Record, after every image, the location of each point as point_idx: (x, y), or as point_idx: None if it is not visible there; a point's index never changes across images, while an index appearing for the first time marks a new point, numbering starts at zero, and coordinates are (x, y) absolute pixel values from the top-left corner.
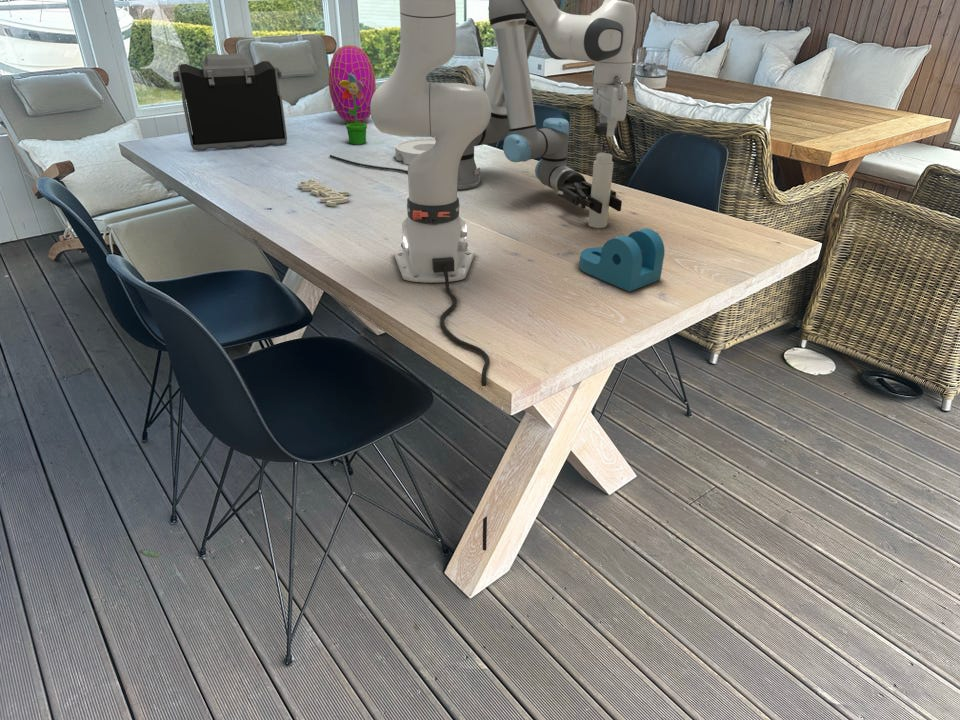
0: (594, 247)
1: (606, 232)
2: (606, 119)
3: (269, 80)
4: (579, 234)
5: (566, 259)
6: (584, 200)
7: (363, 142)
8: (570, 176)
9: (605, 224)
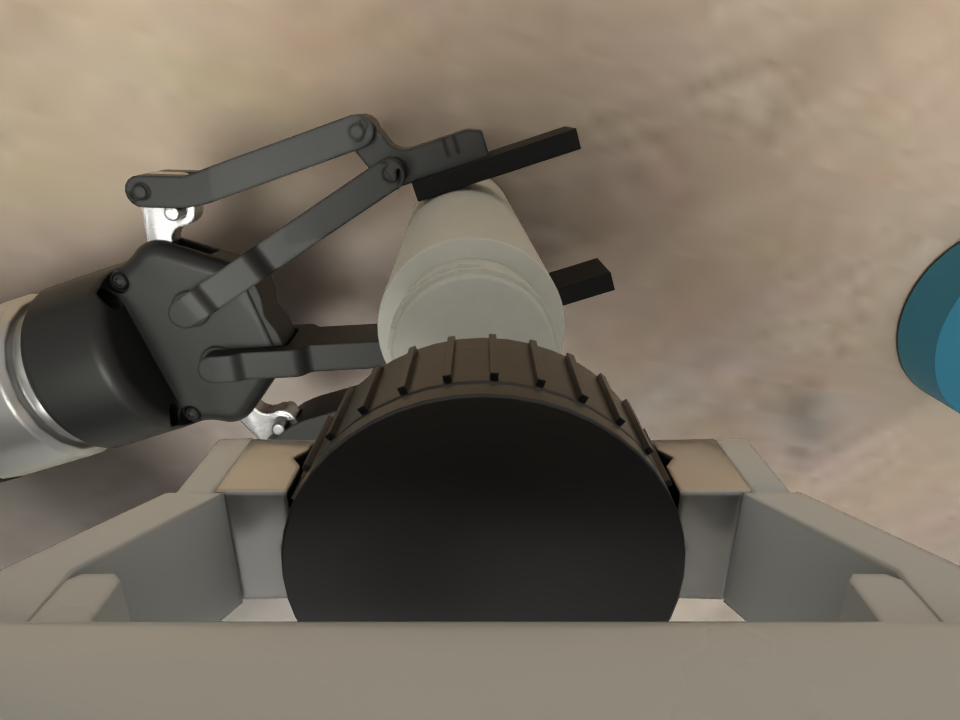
0: (938, 354)
1: (574, 197)
2: (151, 557)
3: None
4: (588, 333)
5: (858, 431)
6: None
7: None
8: (147, 406)
9: (499, 188)
